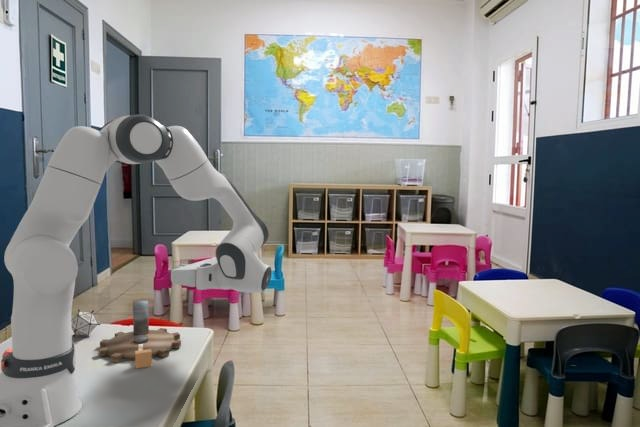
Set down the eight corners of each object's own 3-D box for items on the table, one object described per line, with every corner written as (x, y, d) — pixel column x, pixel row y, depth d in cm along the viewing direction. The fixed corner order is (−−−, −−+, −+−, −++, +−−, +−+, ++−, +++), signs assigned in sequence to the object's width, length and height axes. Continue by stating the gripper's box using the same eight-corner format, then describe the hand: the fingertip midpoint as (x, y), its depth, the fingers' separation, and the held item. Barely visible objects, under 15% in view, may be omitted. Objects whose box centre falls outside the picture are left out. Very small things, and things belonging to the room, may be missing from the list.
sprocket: (183, 357, 131) (183, 317, 130) (94, 367, 124) (93, 324, 122) (178, 329, 153) (177, 295, 152) (102, 336, 145) (101, 300, 144)
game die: (90, 345, 148) (111, 318, 150) (75, 345, 140) (96, 317, 142) (71, 328, 150) (91, 302, 152) (54, 328, 142) (76, 300, 144)
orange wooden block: (135, 368, 124) (135, 353, 124) (135, 365, 126) (135, 351, 126) (151, 366, 126) (151, 351, 125) (151, 363, 128) (150, 349, 127)
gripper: (236, 256, 144) (197, 252, 148) (198, 268, 124) (155, 263, 129) (235, 276, 144) (197, 271, 149) (197, 291, 125) (155, 285, 130)
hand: (177, 267), depth 139 cm, fingers closed
